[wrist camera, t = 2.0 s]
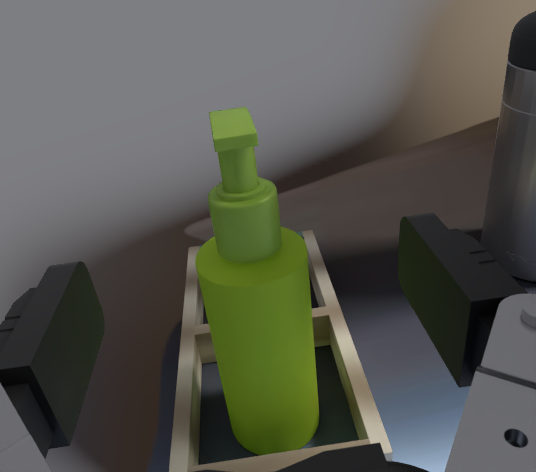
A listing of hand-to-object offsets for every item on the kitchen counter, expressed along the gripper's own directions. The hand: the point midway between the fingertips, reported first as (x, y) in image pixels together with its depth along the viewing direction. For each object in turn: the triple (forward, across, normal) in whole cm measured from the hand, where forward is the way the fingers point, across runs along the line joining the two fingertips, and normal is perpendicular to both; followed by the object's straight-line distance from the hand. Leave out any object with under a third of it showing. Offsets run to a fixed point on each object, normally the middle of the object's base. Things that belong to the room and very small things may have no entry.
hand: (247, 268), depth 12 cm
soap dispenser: (+12, 0, +20) cm, 23 cm away
